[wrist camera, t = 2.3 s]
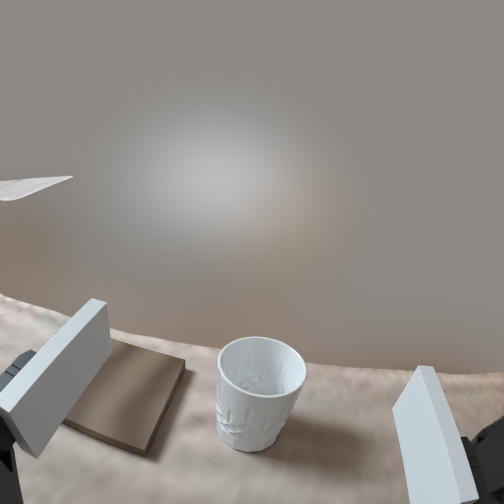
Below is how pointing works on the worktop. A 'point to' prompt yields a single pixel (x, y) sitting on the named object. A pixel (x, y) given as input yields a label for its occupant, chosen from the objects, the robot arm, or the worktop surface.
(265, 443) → the white cup
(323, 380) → the worktop surface
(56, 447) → the worktop surface
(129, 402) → the board
